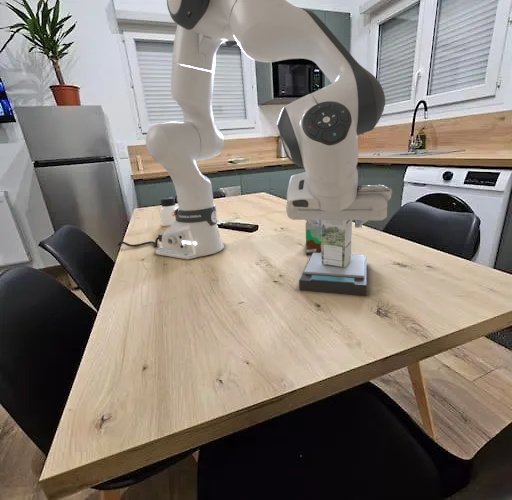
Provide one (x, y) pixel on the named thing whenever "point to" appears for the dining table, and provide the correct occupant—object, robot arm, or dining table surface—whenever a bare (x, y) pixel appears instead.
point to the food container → (313, 239)
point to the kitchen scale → (335, 276)
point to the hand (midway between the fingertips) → (336, 224)
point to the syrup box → (336, 242)
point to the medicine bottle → (168, 211)
